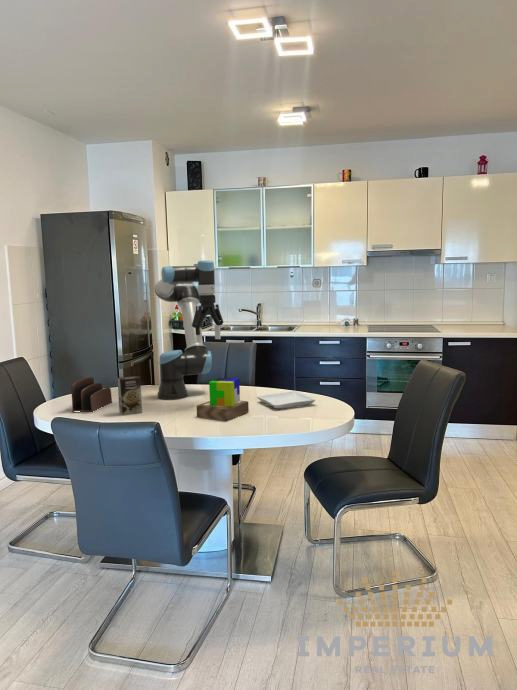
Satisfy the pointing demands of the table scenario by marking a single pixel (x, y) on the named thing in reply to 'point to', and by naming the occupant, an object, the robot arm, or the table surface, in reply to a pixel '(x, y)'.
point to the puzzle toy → (224, 392)
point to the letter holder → (89, 395)
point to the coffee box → (129, 395)
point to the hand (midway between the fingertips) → (208, 340)
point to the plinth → (222, 411)
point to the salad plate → (286, 399)
